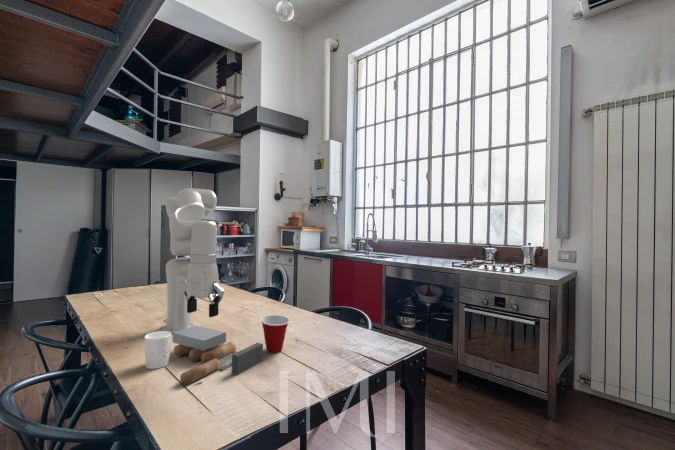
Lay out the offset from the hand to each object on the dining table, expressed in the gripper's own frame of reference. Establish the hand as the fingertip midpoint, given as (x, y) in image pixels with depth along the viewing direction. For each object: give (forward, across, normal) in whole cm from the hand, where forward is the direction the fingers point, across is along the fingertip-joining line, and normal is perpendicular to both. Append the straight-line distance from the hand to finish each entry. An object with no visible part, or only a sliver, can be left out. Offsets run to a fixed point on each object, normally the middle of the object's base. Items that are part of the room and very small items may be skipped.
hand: (202, 314), depth 101 cm
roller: (+19, 0, -1) cm, 19 cm away
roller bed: (+19, -11, +11) cm, 25 cm away
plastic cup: (+19, +8, +27) cm, 34 cm away
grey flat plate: (+19, +1, +11) cm, 22 cm away
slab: (+15, -14, +11) cm, 23 cm away
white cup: (+19, -18, -2) cm, 27 cm away
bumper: (+19, +9, +11) cm, 24 cm away
